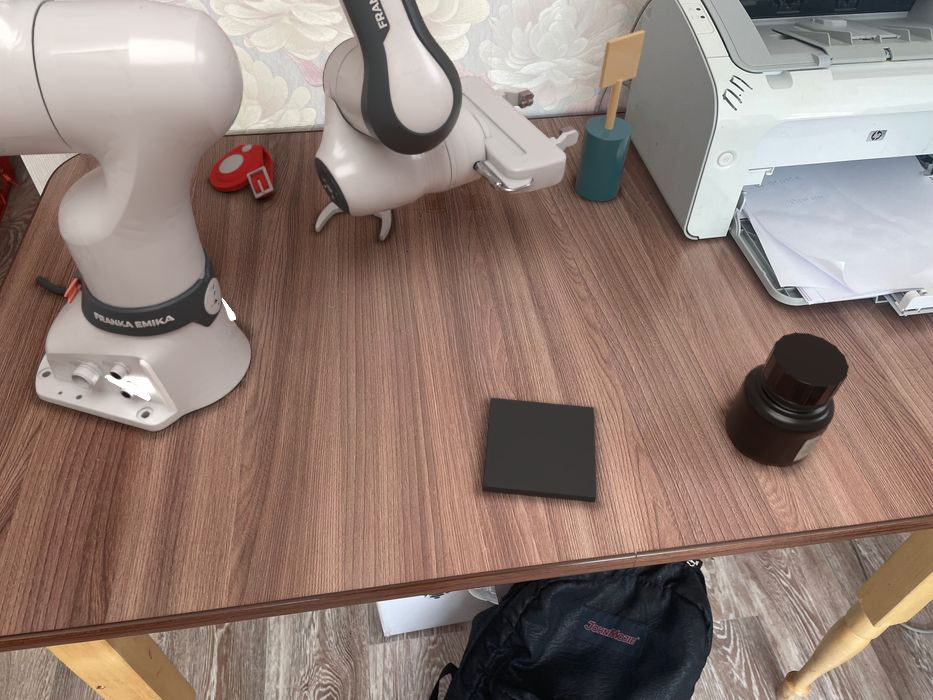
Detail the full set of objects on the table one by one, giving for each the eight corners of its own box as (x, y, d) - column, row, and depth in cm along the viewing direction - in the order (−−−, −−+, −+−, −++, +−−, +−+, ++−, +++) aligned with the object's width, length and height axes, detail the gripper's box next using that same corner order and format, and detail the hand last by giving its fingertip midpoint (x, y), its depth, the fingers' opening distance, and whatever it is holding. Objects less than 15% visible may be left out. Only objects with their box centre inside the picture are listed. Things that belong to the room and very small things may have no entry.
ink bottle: (817, 478, 72) (870, 406, 63) (728, 464, 72) (768, 391, 63) (803, 403, 78) (849, 328, 69) (721, 391, 79) (757, 315, 70)
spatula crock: (594, 206, 101) (625, 52, 84) (566, 184, 104) (589, 31, 88) (627, 192, 104) (663, 39, 87) (598, 171, 107) (627, 20, 90)
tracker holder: (193, 182, 100) (227, 133, 105) (211, 204, 104) (243, 156, 108) (260, 187, 95) (293, 135, 100) (276, 210, 99) (307, 159, 103)
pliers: (312, 221, 94) (344, 159, 104) (314, 231, 96) (345, 169, 106) (384, 231, 94) (410, 167, 103) (385, 240, 95) (410, 177, 105)
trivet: (482, 491, 70) (483, 486, 69) (491, 403, 77) (491, 397, 76) (594, 502, 69) (596, 497, 68) (592, 412, 76) (593, 407, 76)
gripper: (504, 172, 74) (608, 135, 79) (413, 81, 85) (509, 53, 90) (500, 218, 79) (599, 181, 84) (415, 126, 90) (506, 98, 95)
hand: (552, 114), depth 87 cm, fingers open, 8 cm apart
